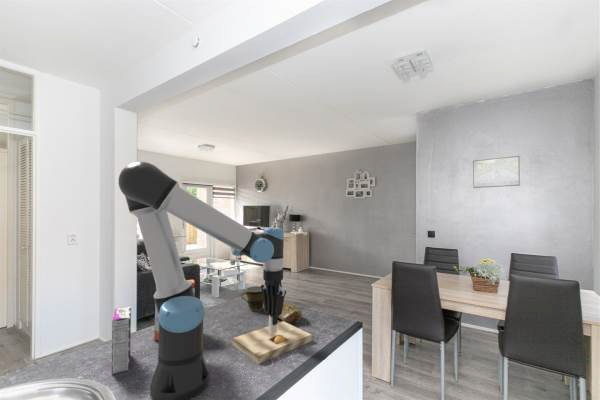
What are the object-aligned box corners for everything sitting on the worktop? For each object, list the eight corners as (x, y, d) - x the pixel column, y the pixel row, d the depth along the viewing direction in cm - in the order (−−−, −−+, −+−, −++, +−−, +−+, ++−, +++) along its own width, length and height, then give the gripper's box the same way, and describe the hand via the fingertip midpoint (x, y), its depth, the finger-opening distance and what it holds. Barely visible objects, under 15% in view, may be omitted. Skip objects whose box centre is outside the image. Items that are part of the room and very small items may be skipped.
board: (258, 363, 92) (258, 356, 92) (232, 345, 105) (232, 338, 105) (311, 341, 109) (311, 334, 109) (283, 327, 121) (283, 321, 121)
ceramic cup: (259, 304, 150) (259, 285, 150) (269, 309, 142) (269, 289, 142) (236, 309, 142) (236, 289, 142) (246, 315, 134) (246, 294, 134)
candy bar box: (113, 358, 95) (114, 308, 96) (130, 354, 98) (131, 306, 98) (110, 375, 85) (111, 319, 86) (129, 370, 88) (131, 317, 88)
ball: (276, 336, 102) (270, 338, 105) (279, 348, 101) (273, 349, 103) (285, 333, 105) (279, 334, 107) (288, 344, 103) (282, 345, 106)
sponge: (304, 324, 127) (286, 302, 145) (303, 309, 126) (285, 288, 143) (277, 335, 122) (261, 311, 139) (276, 319, 120) (260, 296, 137)
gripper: (292, 270, 105) (291, 335, 105) (270, 265, 115) (270, 324, 114) (276, 273, 100) (275, 341, 100) (255, 267, 110) (254, 329, 109)
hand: (272, 332), depth 107 cm, fingers closed
